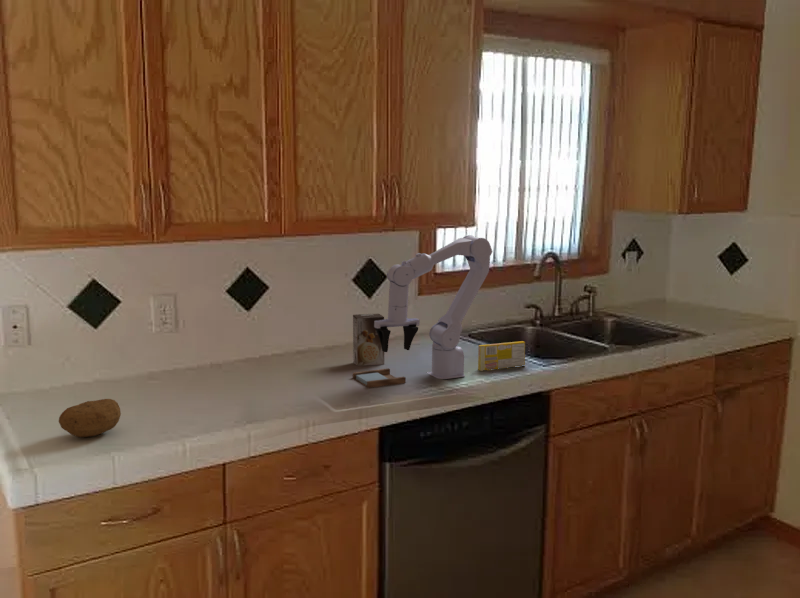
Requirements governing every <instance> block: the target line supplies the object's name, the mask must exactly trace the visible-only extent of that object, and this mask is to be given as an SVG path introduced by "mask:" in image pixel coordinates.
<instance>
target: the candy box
mask: <svg viewBox="0 0 800 598" xmlns="http://www.w3.org/2000/svg"><path fill="white" fill-rule="evenodd" d="M477 349H478V351H477V352H478V355H477V356H478V357H477V358H478V359H477V364H478V366H477V370H478V371H479V370H480V372H483V370H487V371H492V370H491V369H497V370H499V369H498V368H507V367H515V366H522V365H525V366H526V341H523V340H521V341H512V342H511V341H509V342H501V343H500V342H499V343H491V344H490V343H489V344H479V345H478V348H477ZM507 369H508V368H507Z"/></svg>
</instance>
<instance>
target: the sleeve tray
mask: <svg viewBox="0 0 800 598" xmlns="http://www.w3.org/2000/svg"><path fill="white" fill-rule="evenodd" d="M370 373H379V374H381V375H383V376H385V377H386V378H388V379H382V380H374V381H367V385H365V384H364V383H362V382H360V381H359V380H357V379H356V375H361V374H370ZM352 379H353V380H354V381H356V382H358V383H360V384H362V385H363V386H365V387H366V388H369V389H370V388H376V387H377V388H378V387H384V386H386V387H387V386H391V385H399V384H400V385H401V384H406V379H407V378H406V376H398V377H396V376H394V375H392V374H391V369H390V368H387V367H386V368H381V369H380V368H379V369H371V370H364V371H356V372H352Z"/></svg>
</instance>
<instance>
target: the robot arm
mask: <svg viewBox="0 0 800 598" xmlns="http://www.w3.org/2000/svg"><path fill="white" fill-rule="evenodd" d="M492 253H493V249H492V247H491V244H490V241H488V239H487V238H484V237H477V236H474V235H472V234H471V235H470V234H467V235H465V236H463V237H460V238H457V239H455V240H454V241H452V242H450V243H448V244H447V245H445V246H443V247H441V248H439V249H437V250H436V251H434V252H431V253H430V254H427V253H420V252H418V253H415V256H414V257H411V258H410V259H407V260H402V261H401V264H398V263H397V264H395V263H394V264H393V265H392V266H390V268H389V269H388V271H387V273H386V277H387V279H388V281H389V288H388V304H387V305H388V308H387V309H388V310H387V318H384V320H379V321H374V327H375V329H376V332H377V334H378V336H379V339H380V342H381V347H382V351H384V353H388V350H389V340H390V335H391V333H392V332H391V330H390V329H389V328H397V327H402V330H403V349H404V350H407V351H410V349H411V346H412V344H413V343H412V342H413V340H414V338H415V336H416V334H417V333H418V330H419V327H418V326H420V323H421V322H420V319H419V318H417V317H413V318H408V308H409V307H408V306H409V305H408V304H409V288H410V287H409V285H411V282H412V281H413V280H415V279H416V278H419V277H421V276H424V274H428V273H429V272H431V271H432V270H433V267H434V266H435V265H437V264H439V263H441V262H443V261H446V260H449V259H451V258H453V257H456V256H464V258H465V260H467V263H468V266H469V270H468V273H467V275H466V276H465V278H464V279H463V281H462V283H461V285H460V286H459V289H458V291H457V293H456V294H455V296H454V299H453V300H452V302H451V303H450V305H449V308H448V309H447V311H446V313H445V314H444V315H442V316H441V317H439V319H438V320H437V322H436V323H435V324H433V325H432V326H431V327H430V329H429V331H428V332H429V334H428V335H429V338H430V341H432V346H431V350H432V351H431V371H427V372H426V374H427V375H430V376H432V377H434V378H436V379H438V380H439V379H442V380H449V379H455V378H464V377H466V375H465V371H464V369H465V354H464V350H463V348H462V347H461V346H459V342H460V340H461V339H460V338H461V337H460V336H461V334H462V331H463V326H462V322H463V320H464V319H465V316H466V315H467V313H468V311H469V309H470V308H471V305H472V303H474V300H475V298H476V296H477V295H478V292H480V291H479V290H480V288H481V287H482V286H483V283H484V282H485V280H486V278H487V276H488V274H489V272H490V266H491V265H490V264H491V256H492Z"/></svg>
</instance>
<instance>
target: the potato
mask: <svg viewBox="0 0 800 598" xmlns="http://www.w3.org/2000/svg"><path fill="white" fill-rule="evenodd" d="M121 414H122V413H121V408H120V405H119V403H118V401H116V400H115V399H112V398H102V399H97V400H87V401H85V402H84V401H83V402H82V403H79V404H77V405H73V406H69V407H67V408H66V409H65V410H63V412H62V413H61V414H60V415H59V417H58V423H59V425H60V428H61V429H62V430H64V431H66V432H68V433H69V434H71V435H72V436H74V437H76V438H91V437H95V436H99V435H101V434H103V433H106V432H108V431H109V430H112V429H114V428H115V427H116V426H117V424H118V423H119V421H120V419H121Z"/></svg>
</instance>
